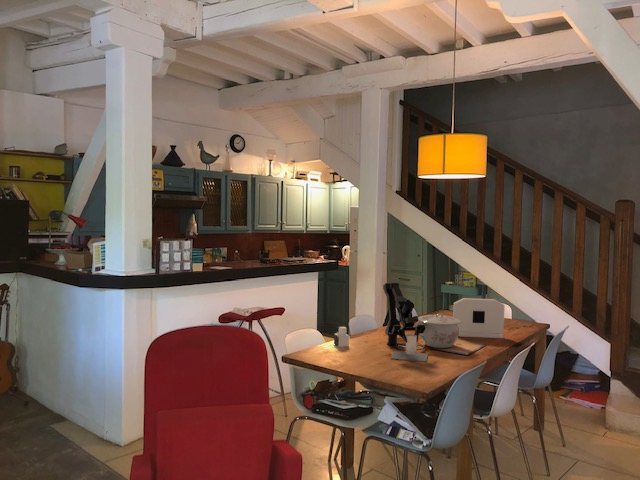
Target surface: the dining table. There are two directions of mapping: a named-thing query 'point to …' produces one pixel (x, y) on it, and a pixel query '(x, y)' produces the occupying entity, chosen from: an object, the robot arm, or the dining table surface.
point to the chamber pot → (439, 330)
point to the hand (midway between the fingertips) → (412, 342)
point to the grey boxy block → (480, 317)
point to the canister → (411, 344)
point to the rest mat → (409, 356)
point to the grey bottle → (341, 337)
